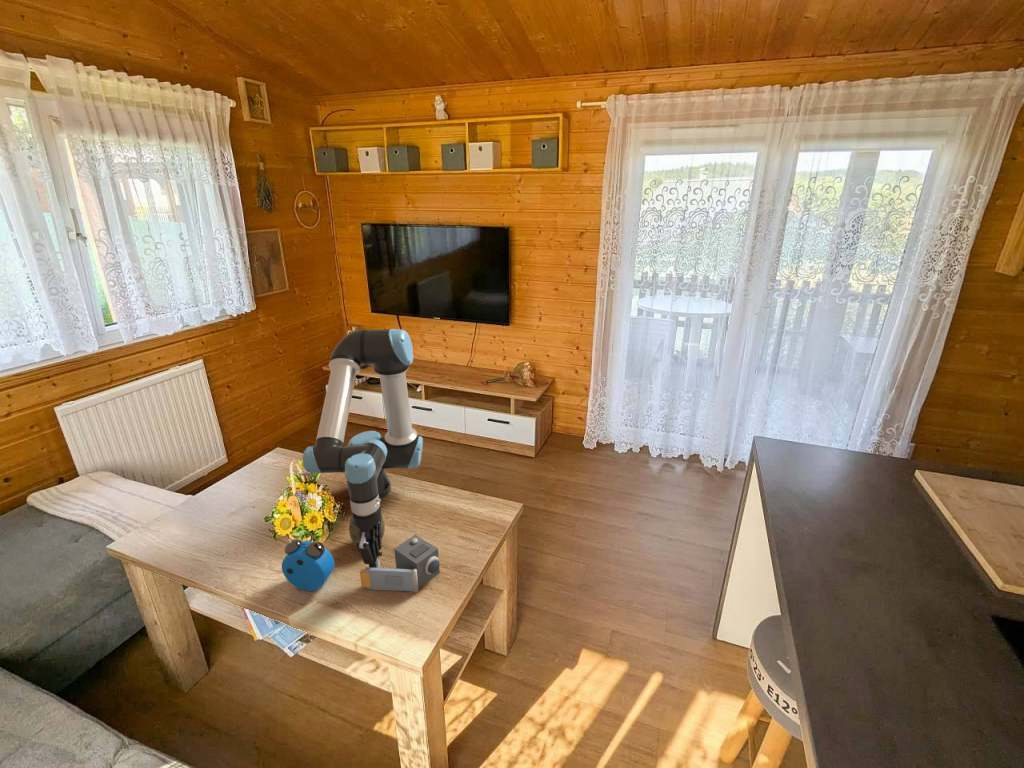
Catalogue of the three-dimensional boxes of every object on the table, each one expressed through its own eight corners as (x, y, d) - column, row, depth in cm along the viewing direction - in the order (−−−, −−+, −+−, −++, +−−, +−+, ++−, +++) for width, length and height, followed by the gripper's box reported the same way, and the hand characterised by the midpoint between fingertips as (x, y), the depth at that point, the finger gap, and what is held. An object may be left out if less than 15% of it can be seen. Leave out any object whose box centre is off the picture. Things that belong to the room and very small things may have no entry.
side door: (362, 590, 136) (358, 569, 134) (363, 586, 138) (360, 565, 135) (418, 592, 135) (416, 572, 132) (419, 588, 137) (417, 568, 134)
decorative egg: (368, 561, 147) (362, 521, 142) (344, 548, 153) (338, 509, 147) (393, 541, 156) (389, 502, 150) (370, 529, 161) (365, 492, 156)
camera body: (397, 572, 143) (393, 546, 139) (417, 558, 148) (415, 532, 145) (422, 591, 136) (420, 564, 132) (443, 574, 142) (441, 548, 138)
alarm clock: (338, 579, 140) (330, 537, 135) (327, 595, 135) (318, 552, 129) (297, 573, 143) (288, 532, 137) (285, 589, 137) (275, 547, 131)
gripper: (371, 524, 124) (381, 593, 133) (387, 495, 136) (395, 561, 144) (343, 523, 124) (355, 592, 133) (361, 494, 136) (371, 559, 145)
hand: (376, 575), depth 139 cm, fingers closed
